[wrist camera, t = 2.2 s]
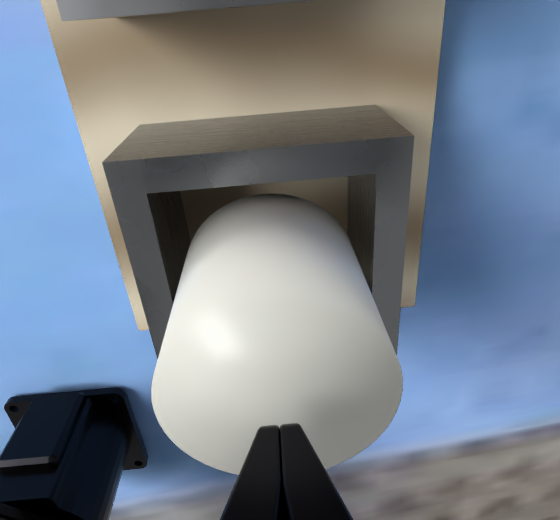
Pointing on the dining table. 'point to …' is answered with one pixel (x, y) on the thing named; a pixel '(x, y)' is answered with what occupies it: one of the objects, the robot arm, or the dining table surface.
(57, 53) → the board
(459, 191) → the dining table surface
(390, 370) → the white rounded tapered piece
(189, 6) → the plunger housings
